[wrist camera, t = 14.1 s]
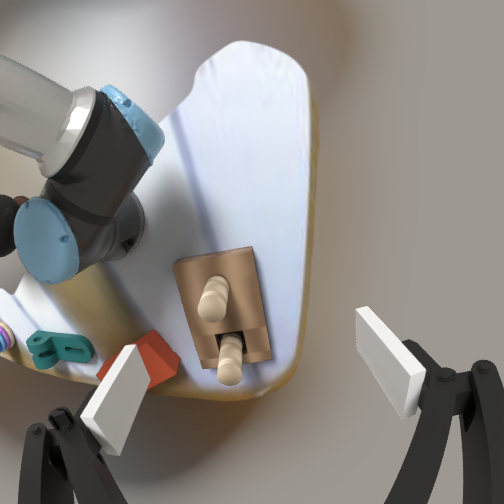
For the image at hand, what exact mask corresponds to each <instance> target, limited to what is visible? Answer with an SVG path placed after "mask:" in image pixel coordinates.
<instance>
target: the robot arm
mask: <svg viewBox="0 0 504 504" xmlns="http://www.w3.org/2000/svg"><path fill="white" fill-rule="evenodd" d="M164 142H165V136H164V133H163V131H162V129H161V128H160V127H159V126H158V125H157V124H156V123H155V122H154V121H153V120H152V119H151V118H150V117H149V116H148V115H147V114H146V113H145V112H144V111H143V110H142V109H141V108H140V107H139V106H137V105H136V104H135V103H133V102H132V101H131V100H130V99H129V98H127V96H125V94H123V93H122V92H121V91H119V90H118V89H117V88H115V87H114V86H112V85H106V86H104V87H103V88H101V89H100V91H97V90H95V89H94V88H92V87H90V86H86V87H83V88H80V89H77V90H74V91H71V90H69V89H67V88H65V87H63V86H62V85H60V84H58V83H56V82H55V81H53V80H51V79H49V78H47V77H45V76H43V75H42V74H40V73H38V72H36V71H34V70H32V69H31V68H29V67H27V66H25V65H23V64H21V63H19V62H17V61H15V60H13V59H11V58H9V57H7V56H5V55H3V54H1V53H0V146H2V147H5V148H7V149H10V150H13V151H16V152H18V153H20V154H23V155H26V156H29V157H31V158H34V159H36V161H37V162H38V165H39V169H40V172H41V174H42V175H43V176H44V177H46V178H48V180H47V181H46V183H45V186H44V188H43V190H42V192H41V194H40V196H39V197H32V198H31V199H29V200H28V201H26V202H25V203H24V204H23V205H22V206H21V207H20V209H19V210H18V212H17V215H16V218H15V222H14V241H15V245H16V247H17V251H18V255H19V257H20V260H21V262H22V263H23V265H24V266H25V268H26V269H27V271H28V272H29V273H30V274H31V275H32V276H33V277H34V278H36V279H37V280H39V281H41V282H43V283H46V284H58V283H61V282H64V281H66V280H70V279H71V278H73V277H74V276H75V275H76V274H78V273H79V272H81V271H83V270H84V269H86V268H87V267H89V266H91V265H92V264H94V263H96V262H97V261H115V260H119V259H121V258H123V257H125V256H126V255H128V254H129V253H130V252H132V251H133V250H134V249H135V248H136V246H137V245H138V243H139V241H140V239H141V237H142V234H143V230H144V213H143V209H142V206H141V203H140V201H139V199H138V198H137V196H136V195H135V193H134V192H133V190H134V189H135V187H136V186H137V184H138V183H139V181H140V180H141V178H142V177H143V175H144V174H145V172H146V171H147V169H148V168H149V167H151V166H152V165H153V160H154V159H155V157H156V156H157V154H158V153H159V151H160V150H161V148H162V147H163V145H164ZM355 310H356V311H355V312H356V349H357V350H358V352H359V353H360V355H361V356H362V358H363V359H364V361H365V363H366V364H367V365H368V367H369V369H370V370H371V372H372V373H373V375H374V377H375V378H376V380H377V381H378V383H379V385H380V386H381V387H382V389H383V391H384V393H385V394H386V396H387V397H388V399H389V401H390V402H391V404H392V405H393V407H394V409H395V410H396V412H397V414H398V415H399V417H400V418H401V420H402V419H405V418H407V417H410V416H412V415H415V414H416V411H417V407H418V406H419V408H420V409H421V411H422V412H421V415H420V418H419V421H418V424H417V427H416V430H415V433H414V436H413V439H412V442H411V444H410V447H409V449H408V452H407V455H406V457H405V460H404V462H403V464H402V467H401V469H400V472H399V474H398V476H397V478H396V481H395V482H394V485H393V487H392V489H391V491H390V493H389V495H388V497H387V499H386V501H385V503H384V504H427V503H428V500H429V498H430V495H431V492H432V489H433V487H434V484H435V481H436V478H437V475H438V471H439V468H440V465H441V462H442V458H443V455H444V451H445V447H446V443H447V439H448V434H449V430H450V426H451V421H452V416H455V415H459V419H460V428H461V438H462V452H463V504H504V388H503V385H502V382H501V379H500V376H499V373H498V371H497V368H496V366H495V365H494V364H493V363H492V362H491V361H488V360H479V361H476V362H475V363H474V364H473V366H472V368H471V371H467V372H462V373H456V371H454V370H453V369H450V368H441V367H440V366H439V365H438V364H437V363H436V362H435V361H434V360H433V359H432V358H431V357H430V356H429V355H428V354H427V353H426V352H425V351H424V349H422V347H420V345H419V344H418V343H416V342H414V341H412V340H409V339H408V340H405V341H403V342H400V340H399V339H398V338H397V337H396V336H395V335H394V334H393V333H392V332H391V331H390V330H389V328H388V327H387V326H386V325H385V324H384V323H383V322H382V321H381V320H380V319H379V318H378V317H377V316H376V315H375V314H374V313H373V312H372V311H371V310H370V308H368V306H366V307H362V308H358V309H355ZM150 380H151V379H150V377H149V374H148V372H147V370H146V368H145V365H144V363H143V360H142V358H141V356H140V353H139V351H138V348H137V346H136V345H125V347H124V348H123V350H122V351H121V353H120V354H119V356H118V357H117V359H116V360H115V362H114V363H113V365H112V366H111V368H110V370H109V371H108V373H107V374H106V376H105V377H104V379H103V380H102V382H101V384H100V385H99V387H95V388H94V389H93V390H91V391H90V392H89V394H88V395H87V397H86V398H85V400H84V401H83V403H82V405H81V406H80V408H79V409H78V411H77V412H76V414H75V415H74V417H73V416H72V414H71V412H70V411H69V409H68V408H66V407H58V408H56V409H54V410H52V411H51V412H50V414H49V415H48V420H49V421H50V423H51V424H52V426H53V427H54V429H50V430H48V429H47V428H46V426H45V425H44V424H43V423H35V424H32V425H31V426H30V427H29V429H28V430H27V433H26V439H25V444H24V450H23V456H22V463H21V471H20V480H19V492H18V504H74V494H73V490H74V493H75V495H76V498H77V500H78V503H79V504H128V503H127V501H126V500H125V498H124V496H123V495H122V493H121V491H120V489H119V487H118V486H117V484H116V482H115V480H114V478H113V476H112V475H111V473H110V471H109V469H108V467H107V465H106V462H105V461H104V459H103V456H102V455H101V454H100V452H99V451H100V449H101V447H102V448H103V449H104V451H105V452H106V453H107V454H110V455H117V456H120V453H121V451H122V449H123V446H124V443H125V441H126V438H127V436H128V433H129V431H130V428H131V426H132V423H133V421H134V419H135V416H136V414H137V411H138V408H139V406H140V404H141V401H142V399H143V397H144V394H145V392H146V390H147V387H148V385H149V383H150Z"/></svg>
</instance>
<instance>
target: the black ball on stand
mask: <svg viewBox="0 0 504 504" xmlns="http://www.w3.org/2000/svg"><path fill="white" fill-rule="evenodd" d="M28 200H29V199H28V198H27V197H25V196H18V197H15V198H14V199H12V198H11V197H9V196H6V195H0V257H4V256H6V255H8V254H10V253H12V251H14V250H15V249H16V248H17V247H16V245H15V241H14V222H15V218H16V215H17V212H18V210H19V209H20V207H21V206H22V205H23V204H24V203H25V202H26V201H28Z"/></svg>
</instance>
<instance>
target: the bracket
mask: <svg viewBox="0 0 504 504" xmlns="http://www.w3.org/2000/svg"><path fill="white" fill-rule="evenodd" d="M26 343H27V346H28V349H29V351H30V352H31V353H33V356H32V359H33V361H34V364H35V366H36V368H38V369H42V370H43V369H48V368H51V367H52V366H54V365H55V364H56V363H57V362H58V361H59V360H65V361H72V362H79V363H88V362H89V361H90V360H91V358H92V357H93V356H94V348H93V345H92V344H91V342H90V341H89V340H88V339H87V338H85V337H84V336H81V335H74V334H64V333H55V332H46V331H39V330H37V331H36V332H35V333H34V334H33V335H31V336H30V337H29V338H28V339H27V341H26ZM70 347H72V348H80V349H83V350H79V349H72V348H70Z"/></svg>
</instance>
